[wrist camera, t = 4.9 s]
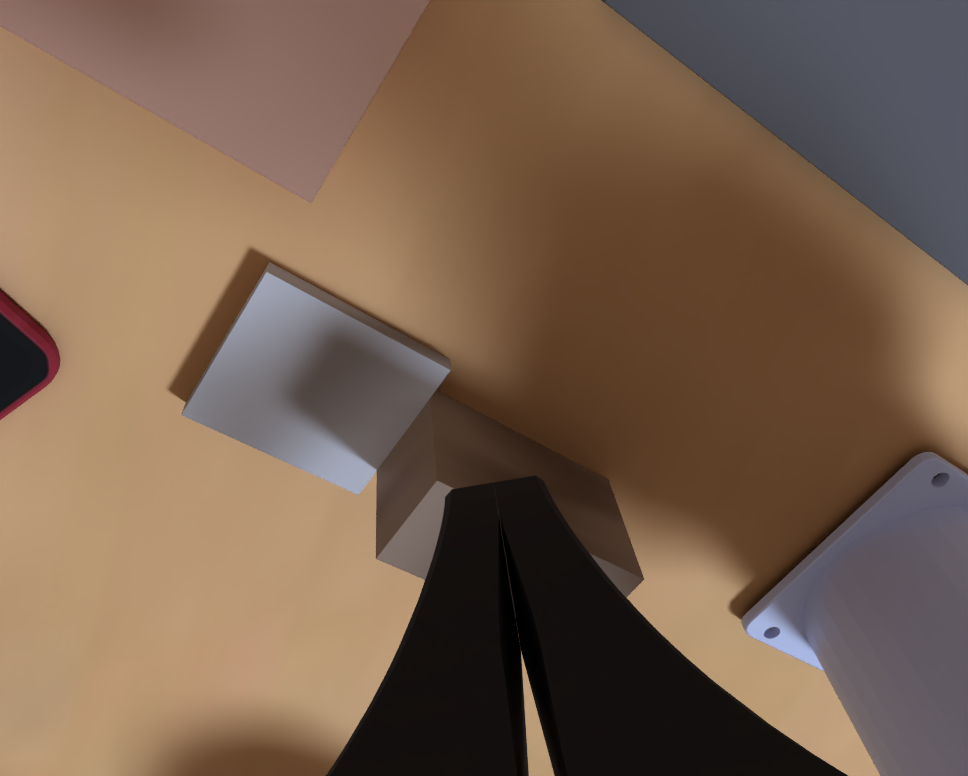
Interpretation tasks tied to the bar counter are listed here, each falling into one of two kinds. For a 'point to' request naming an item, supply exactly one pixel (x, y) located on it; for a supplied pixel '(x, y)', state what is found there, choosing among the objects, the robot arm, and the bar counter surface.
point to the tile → (235, 68)
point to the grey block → (382, 423)
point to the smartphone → (23, 357)
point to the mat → (845, 95)
